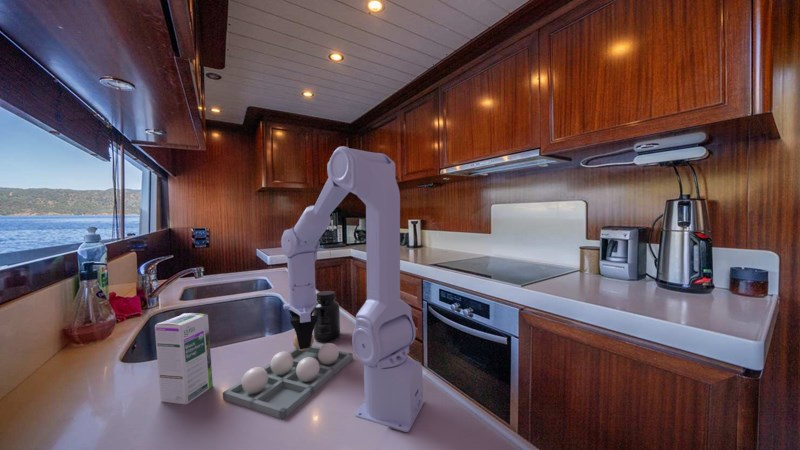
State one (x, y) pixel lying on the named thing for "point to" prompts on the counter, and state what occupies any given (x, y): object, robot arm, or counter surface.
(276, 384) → the egg carton
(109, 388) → the counter surface
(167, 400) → the syrup box
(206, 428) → the counter surface
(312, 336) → the brown egg
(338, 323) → the supplement bottle
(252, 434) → the counter surface
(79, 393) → the counter surface
